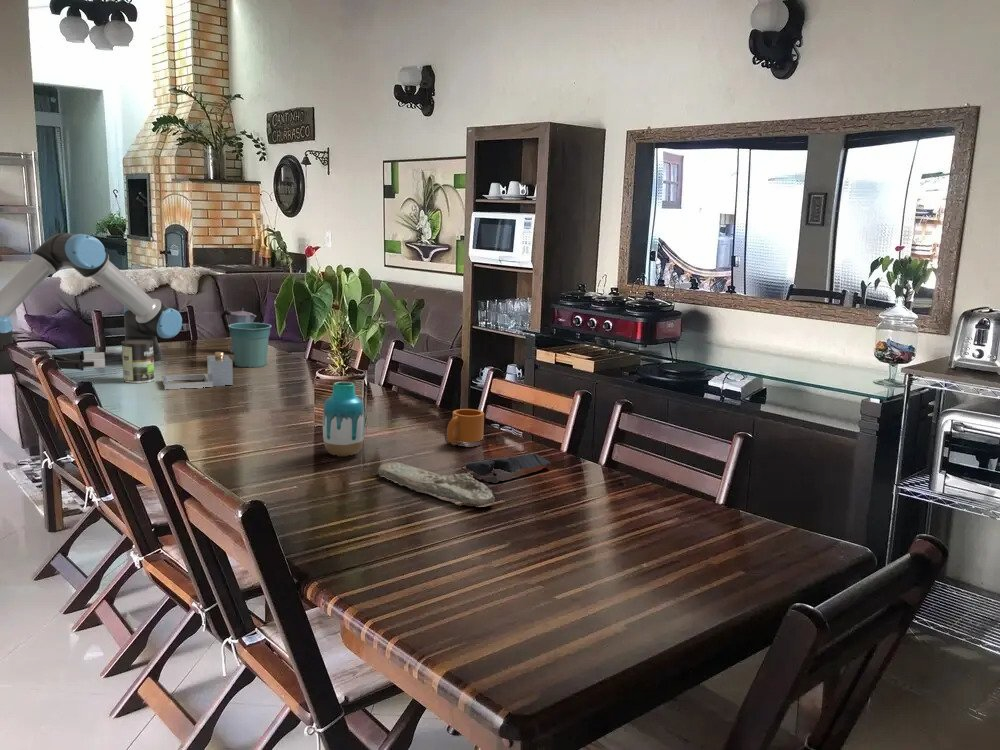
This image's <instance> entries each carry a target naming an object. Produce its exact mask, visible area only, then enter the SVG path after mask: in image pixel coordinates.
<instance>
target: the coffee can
mask: <svg viewBox="0 0 1000 750" xmlns="http://www.w3.org/2000/svg"><path fill="white" fill-rule="evenodd" d="M120 344H121V353H122V358H123V360H122V374H123V376H122V377H123V382H124V381H125V382H124V383H126V382H130V383H129V384H147V383H152V382H154V381H155V367H154V366H155V365H154V362H155V361H154V360H153V341H151V340H126V341H125V340H122V341H121V343H120ZM153 380H154V381H153ZM151 381H152V382H151ZM146 382H147V383H146Z"/></svg>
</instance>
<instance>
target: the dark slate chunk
mask: <svg viewBox="0 0 1000 750" xmlns="http://www.w3.org/2000/svg"><path fill="white" fill-rule="evenodd" d="M483 460H484V461H483ZM483 460H477V462H476V461H471V462H470V461H469V462H467V463H468V464H467V465H466V468H467V469H469V470H471V471H473V472H475V473H477V474H480V475H486V474H489V473H491V471H492V470H493V468H494V469H501V470H504V471H507V472H510V473H512V472H516V470H518V469H527V468H532V467H535V466H539V465H542V466H543V465H547V464H550V465H551V461H550V460H548V459H547V458H544V457H541V455H539V454H538V453H534V452H533V453H525V454H519V455H513V456H507V457H498V458H497V459H496V458H491V460H490V459H483Z"/></svg>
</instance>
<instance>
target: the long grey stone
mask: <svg viewBox="0 0 1000 750" xmlns="http://www.w3.org/2000/svg"><path fill="white" fill-rule="evenodd" d="M378 472H379V474H380V475H384V476H385V477H386V478H389V479H392V480H395V481H397V482H398V483H402V484H405V485H409V486H412V487H415V488H418V489H420V490H423V491H427V492H430V493H432V494H436V495H437V496H441V497H446V498H449V499H455V500H457V501H460V502H463V503H470V504H477V505H483V504H488V503H491V502H495V501H496V498H495V496H494V494H493V490H492V489H490V488H489V487H488V486H487V485H486V484H484V483H483V482H480V480H477V479H475V478H473V475H471V474H470V473H460V474H457V473H455V474H449V475H448V474H441V475H440V474H437V473H436V472H432V471H428V470H427V469H426V470H425V469H422V468H418V467H415V466H411V465H408V464H405V463H402V462H397V461H391V462H387V463H385V462H383V463H382V464H380V465H379V466H378V469H377V473H378Z"/></svg>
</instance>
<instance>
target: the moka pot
mask: <svg viewBox="0 0 1000 750" xmlns="http://www.w3.org/2000/svg"><path fill="white" fill-rule="evenodd" d="M226 315H227V316H228V317H230V322H231V324H235V323H254V320H255V319H256V317H257V315H256V314H253V312H248V311H245V310H244V307H243V306H240V307H239V310H237V311H228V310H225V311H224V312H223V313H222V314H221V320H222V322H223V323H222V324H223V326H224V330H225V332H226V333H230V334H231V332H230V329H229V327H228V325H227V321H226V318H225V316H226ZM229 353H230V354H233V355H234V351H233V342H232V341H231V343H230V349H229Z"/></svg>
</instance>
